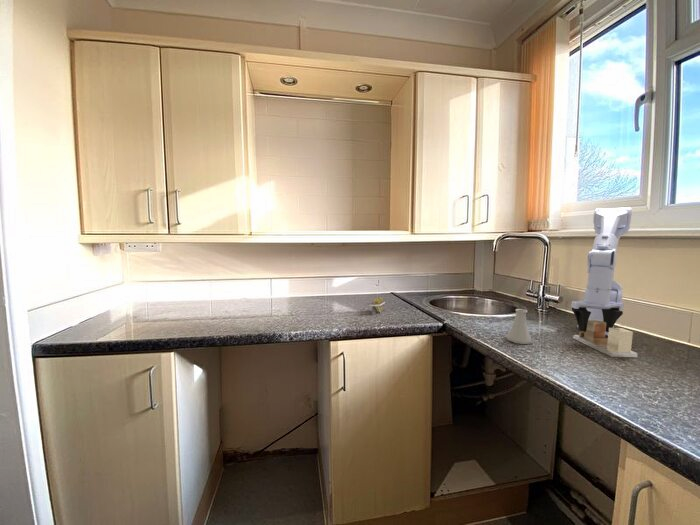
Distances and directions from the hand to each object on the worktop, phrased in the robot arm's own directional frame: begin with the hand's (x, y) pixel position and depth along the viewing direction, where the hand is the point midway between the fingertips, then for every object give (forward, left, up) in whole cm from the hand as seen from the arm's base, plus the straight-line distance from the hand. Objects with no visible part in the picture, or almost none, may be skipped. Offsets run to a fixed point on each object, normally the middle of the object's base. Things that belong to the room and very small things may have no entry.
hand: (594, 331), depth 95 cm
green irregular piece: (-30, -66, -4) cm, 72 cm away
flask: (0, -23, -4) cm, 23 cm away
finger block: (0, 0, -3) cm, 3 cm away
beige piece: (+4, 0, -4) cm, 5 cm away
